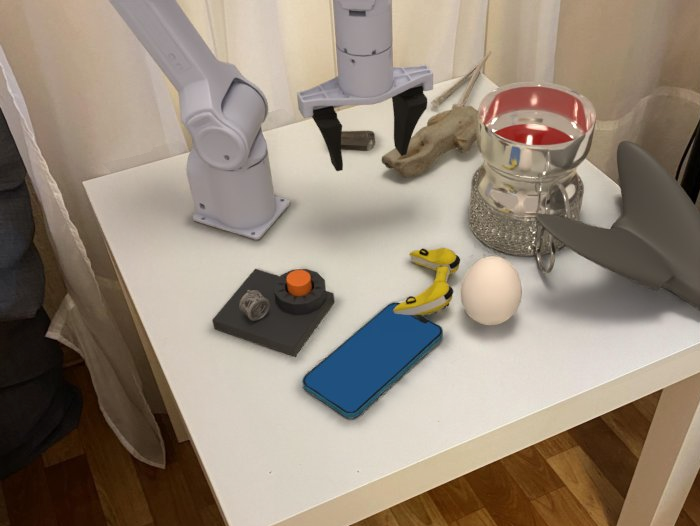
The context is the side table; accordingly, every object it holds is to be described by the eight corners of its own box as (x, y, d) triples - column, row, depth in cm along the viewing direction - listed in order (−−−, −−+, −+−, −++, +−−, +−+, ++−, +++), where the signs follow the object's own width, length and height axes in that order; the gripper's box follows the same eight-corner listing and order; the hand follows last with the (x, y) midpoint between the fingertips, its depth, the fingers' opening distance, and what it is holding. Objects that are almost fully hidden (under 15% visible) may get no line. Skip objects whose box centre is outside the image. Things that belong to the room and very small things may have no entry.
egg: (447, 320, 91) (450, 264, 85) (482, 289, 94) (487, 233, 88) (495, 347, 89) (501, 292, 83) (529, 314, 92) (538, 259, 86)
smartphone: (297, 381, 85) (393, 299, 92) (298, 387, 86) (394, 305, 93) (351, 417, 82) (447, 330, 89) (352, 423, 83) (447, 336, 90)
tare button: (283, 292, 91) (281, 281, 90) (295, 277, 93) (293, 267, 91) (304, 299, 90) (303, 288, 89) (316, 284, 92) (314, 273, 91)
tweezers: (428, 98, 117) (429, 111, 119) (460, 105, 116) (460, 118, 117) (476, 39, 127) (476, 52, 128) (506, 45, 125) (505, 58, 127)
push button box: (214, 329, 91) (209, 309, 89) (260, 273, 97) (256, 253, 95) (295, 356, 89) (292, 336, 86) (337, 297, 94) (335, 277, 92)
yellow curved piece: (370, 306, 97) (417, 339, 90) (358, 283, 95) (405, 315, 88) (437, 256, 99) (488, 285, 92) (427, 232, 97) (478, 260, 90)
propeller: (757, 308, 100) (815, 255, 95) (698, 379, 81) (767, 319, 76) (615, 178, 104) (664, 120, 99) (528, 217, 85) (582, 149, 80)
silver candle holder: (528, 175, 108) (542, 68, 97) (630, 250, 98) (658, 141, 87) (447, 212, 103) (452, 104, 92) (545, 295, 94) (564, 185, 83)
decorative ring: (250, 325, 90) (246, 305, 87) (240, 316, 91) (236, 295, 88) (272, 313, 91) (268, 292, 88) (262, 304, 92) (258, 283, 89)
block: (332, 140, 115) (330, 128, 114) (375, 137, 115) (374, 125, 114) (330, 153, 113) (328, 140, 112) (375, 150, 112) (373, 137, 111)
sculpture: (413, 199, 107) (494, 143, 112) (410, 168, 103) (494, 111, 109) (375, 177, 110) (456, 124, 116) (371, 146, 107) (454, 93, 112)
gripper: (415, 11, 89) (415, 125, 99) (283, 38, 86) (297, 153, 96) (442, 41, 85) (439, 158, 95) (304, 71, 81) (316, 188, 92)
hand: (369, 158), depth 95 cm, fingers open, 7 cm apart
